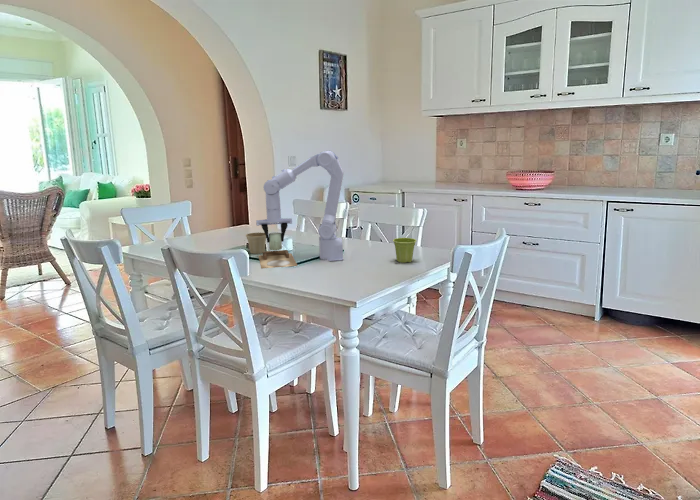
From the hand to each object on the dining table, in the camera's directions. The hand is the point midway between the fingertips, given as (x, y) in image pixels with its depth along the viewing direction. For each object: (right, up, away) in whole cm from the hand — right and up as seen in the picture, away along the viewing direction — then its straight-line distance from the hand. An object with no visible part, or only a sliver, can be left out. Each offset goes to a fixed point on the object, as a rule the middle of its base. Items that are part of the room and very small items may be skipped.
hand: (275, 241), depth 214 cm
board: (+1, -9, -4) cm, 10 cm away
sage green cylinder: (0, -3, -1) cm, 3 cm away
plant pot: (+53, -8, -6) cm, 54 cm away
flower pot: (-9, -5, +12) cm, 16 cm away
